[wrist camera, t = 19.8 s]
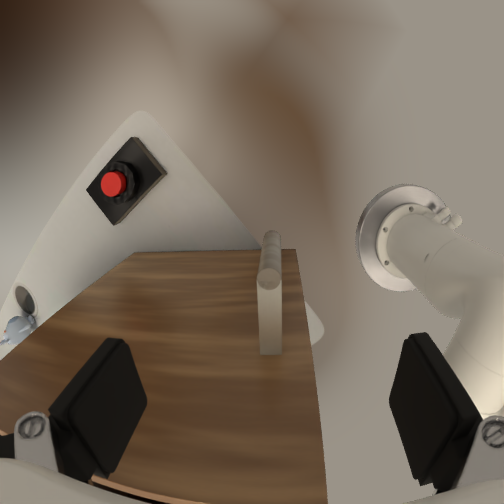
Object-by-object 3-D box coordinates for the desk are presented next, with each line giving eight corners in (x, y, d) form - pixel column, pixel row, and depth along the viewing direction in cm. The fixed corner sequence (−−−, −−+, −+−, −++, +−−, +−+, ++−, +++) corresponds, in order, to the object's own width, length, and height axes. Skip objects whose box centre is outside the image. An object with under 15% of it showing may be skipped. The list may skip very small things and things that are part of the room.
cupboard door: (128, 212, 46) (-80, 325, 10) (294, 204, 43) (359, 417, 7) (135, 258, 48) (-35, 409, 12) (295, 255, 45) (325, 513, 9)
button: (117, 166, 40) (111, 167, 38) (130, 183, 41) (125, 184, 39) (103, 182, 41) (96, 184, 39) (116, 199, 42) (110, 201, 40)
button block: (137, 137, 42) (125, 136, 38) (167, 173, 43) (157, 175, 40) (92, 188, 45) (79, 191, 41) (119, 222, 46) (107, 228, 43)
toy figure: (35, 304, 54) (2, 329, 43) (47, 327, 56) (17, 354, 45) (15, 312, 56) (-14, 334, 45) (26, 333, 58) (-1, 357, 47)
